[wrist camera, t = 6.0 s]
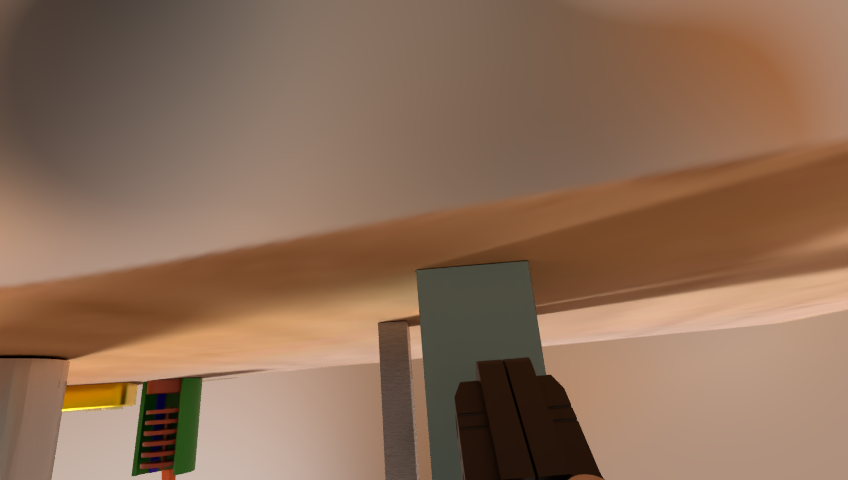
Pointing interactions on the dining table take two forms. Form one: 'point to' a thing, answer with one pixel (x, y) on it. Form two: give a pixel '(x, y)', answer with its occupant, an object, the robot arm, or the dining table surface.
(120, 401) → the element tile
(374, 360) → the dining table surface
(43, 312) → the dining table surface
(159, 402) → the motor
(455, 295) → the sage green rectangular prism
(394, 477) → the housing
